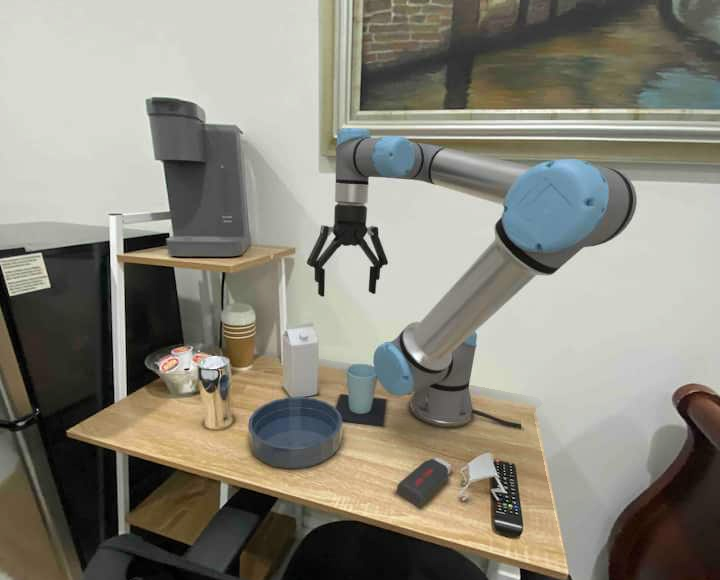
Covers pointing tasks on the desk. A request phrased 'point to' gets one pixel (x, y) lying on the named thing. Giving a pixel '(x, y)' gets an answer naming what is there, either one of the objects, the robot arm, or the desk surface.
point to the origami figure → (481, 472)
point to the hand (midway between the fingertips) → (347, 293)
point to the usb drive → (424, 481)
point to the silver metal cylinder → (215, 390)
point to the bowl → (295, 432)
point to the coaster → (369, 418)
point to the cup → (361, 387)
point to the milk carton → (300, 360)
